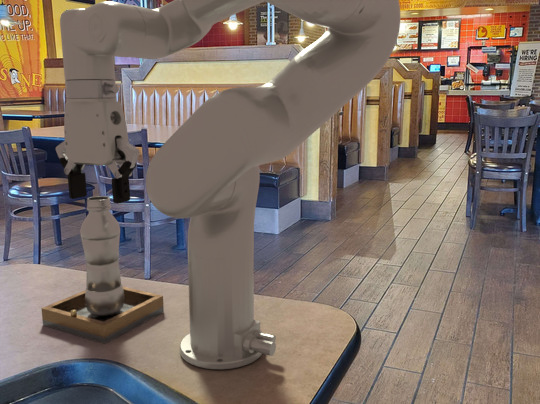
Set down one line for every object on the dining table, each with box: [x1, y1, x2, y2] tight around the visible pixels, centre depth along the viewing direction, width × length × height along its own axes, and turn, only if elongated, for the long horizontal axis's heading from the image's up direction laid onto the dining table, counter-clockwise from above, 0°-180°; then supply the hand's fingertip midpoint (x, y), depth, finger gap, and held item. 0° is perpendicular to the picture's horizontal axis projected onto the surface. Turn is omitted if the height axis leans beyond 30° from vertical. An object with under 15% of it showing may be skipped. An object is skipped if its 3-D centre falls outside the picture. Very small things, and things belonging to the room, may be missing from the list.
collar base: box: [41, 286, 164, 345], centre depth 91 cm, size 14×14×4 cm
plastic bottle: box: [79, 195, 125, 316], centre depth 89 cm, size 6×7×20 cm
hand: (99, 199), depth 87 cm, fingers open, 9 cm apart
